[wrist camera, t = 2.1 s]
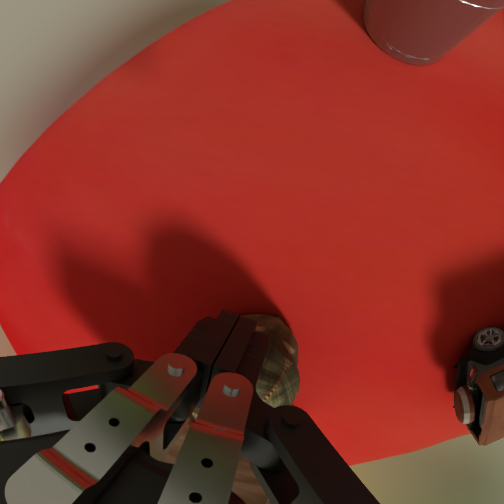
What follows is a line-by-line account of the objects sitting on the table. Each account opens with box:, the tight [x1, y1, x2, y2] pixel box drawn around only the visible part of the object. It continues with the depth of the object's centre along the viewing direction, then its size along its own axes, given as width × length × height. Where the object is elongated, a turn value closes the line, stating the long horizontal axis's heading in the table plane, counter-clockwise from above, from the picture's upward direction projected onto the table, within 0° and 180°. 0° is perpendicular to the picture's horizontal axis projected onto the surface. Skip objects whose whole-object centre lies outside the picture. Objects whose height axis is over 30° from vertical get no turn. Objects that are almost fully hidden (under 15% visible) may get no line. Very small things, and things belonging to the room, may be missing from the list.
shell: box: [192, 314, 300, 420], centre depth 29 cm, size 11×11×12 cm
